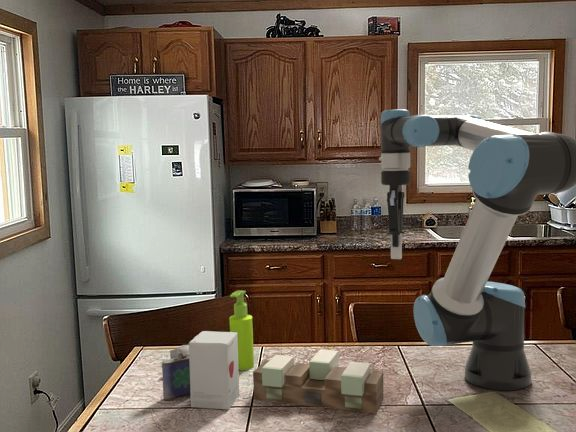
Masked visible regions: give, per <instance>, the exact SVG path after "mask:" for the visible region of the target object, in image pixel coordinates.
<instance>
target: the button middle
mask: <svg viewBox="0 0 576 432" xmlns="http://www.w3.org/2000/svg"><path fill="white" fill-rule="evenodd" d="M339 355H340V353H339V350H334V349H333V350H331V349H321V348H320V349H319V350H318V351H317V352H316V354H314V356H313V357H312V358H311V359H310V361H308V362H309V363H308V364H309V370H310V379H316V380H324V379H325V378H326V376H327V375H328V374H329V372H330V371H331V370H332V368H333V367H340V364H339V363H340V362H339Z"/></svg>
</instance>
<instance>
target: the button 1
mask: <svg viewBox="0 0 576 432" xmlns="http://www.w3.org/2000/svg"><path fill="white" fill-rule="evenodd" d="M294 365H295V356H294V355H293V356H292V355H282V354H280V355H279V354H275V355H274V356H273V357H271V358H270V360H269V362H268V363H267V364H265V365H264V366H263V367H262V385H264V386H273V387H282V386H283V385H284V384H285V375H286V374H287V373H288V372H289V370H290V369H291V368H292V367H293V366H294Z"/></svg>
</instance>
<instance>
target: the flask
mask: <svg viewBox="0 0 576 432" xmlns="http://www.w3.org/2000/svg"><path fill="white" fill-rule="evenodd" d="M178 351H179V352H178V355H177V358H173V359H170V358H168V359H166V360H165V359H164V360H163V361H162V362H161V371H162V374H161V375H162V399H163V400H164V401H165V402H167V401H174V400H176V399H181V398H182V399H183V398H185V397H189V396H190V397H191V392H190V362H189V354H187V355H185V354H183V353H182V351H183V350H178ZM176 352H177V351H176Z"/></svg>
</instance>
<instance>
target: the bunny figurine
mask: <svg viewBox="0 0 576 432" xmlns="http://www.w3.org/2000/svg"><path fill="white" fill-rule="evenodd" d="M178 350H183V351H182V353H183V354H185V355H187V354H189V344H182V345H181V344H180V346H178V347H177V348H174V349H172V350H169V352H170V353H169V356H170V358H169V359H173V358H177V355H178V352H179V351H178ZM176 351H177V352H176Z"/></svg>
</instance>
